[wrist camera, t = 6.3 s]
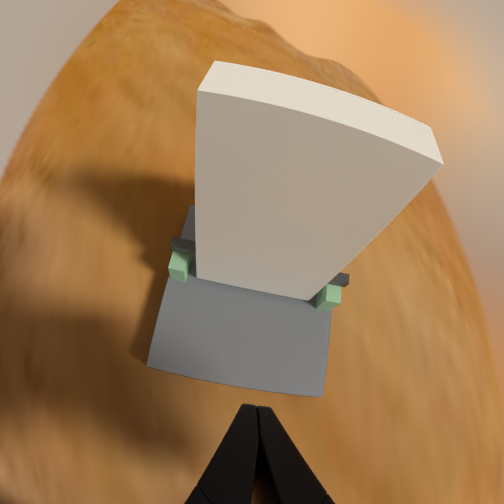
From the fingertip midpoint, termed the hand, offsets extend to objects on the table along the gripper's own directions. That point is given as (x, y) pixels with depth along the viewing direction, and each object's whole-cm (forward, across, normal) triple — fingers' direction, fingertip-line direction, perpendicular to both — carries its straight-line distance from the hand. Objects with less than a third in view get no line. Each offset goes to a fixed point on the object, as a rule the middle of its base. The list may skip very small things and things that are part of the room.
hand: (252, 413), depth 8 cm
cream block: (+9, 0, -1) cm, 9 cm away
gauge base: (+9, 0, +1) cm, 9 cm away
